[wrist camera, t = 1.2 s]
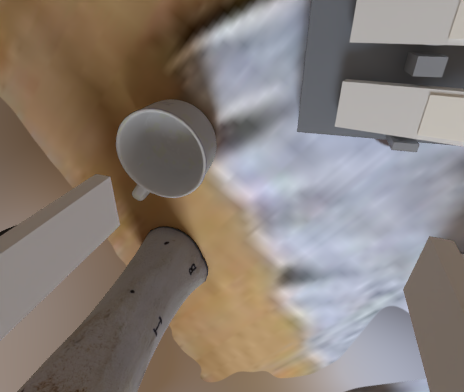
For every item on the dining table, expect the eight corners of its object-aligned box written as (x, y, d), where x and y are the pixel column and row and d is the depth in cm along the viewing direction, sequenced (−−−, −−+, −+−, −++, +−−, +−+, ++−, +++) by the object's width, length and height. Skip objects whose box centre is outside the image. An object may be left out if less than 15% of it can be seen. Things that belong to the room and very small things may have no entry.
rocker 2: (346, 78, 27) (342, 81, 26) (518, 92, 21) (522, 96, 20) (338, 123, 29) (334, 127, 28) (492, 146, 23) (495, 152, 22)
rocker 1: (363, -17, 23) (359, -19, 22) (575, -30, 18) (584, -33, 17) (353, 42, 25) (348, 43, 24) (539, 47, 20) (545, 48, 19)
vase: (227, 269, 50) (142, 480, 27) (174, 292, 57) (67, 476, 33) (179, 212, 47) (34, 392, 24) (128, 243, 54) (-25, 408, 30)
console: (330, -139, 24) (329, -195, 17) (637, -180, 19) (784, -275, 13) (300, 121, 34) (293, 143, 28) (492, 135, 30) (534, 166, 24)
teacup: (183, 74, 36) (149, 86, 29) (242, 142, 38) (223, 167, 31) (125, 142, 43) (87, 164, 36) (178, 196, 45) (151, 226, 39)
